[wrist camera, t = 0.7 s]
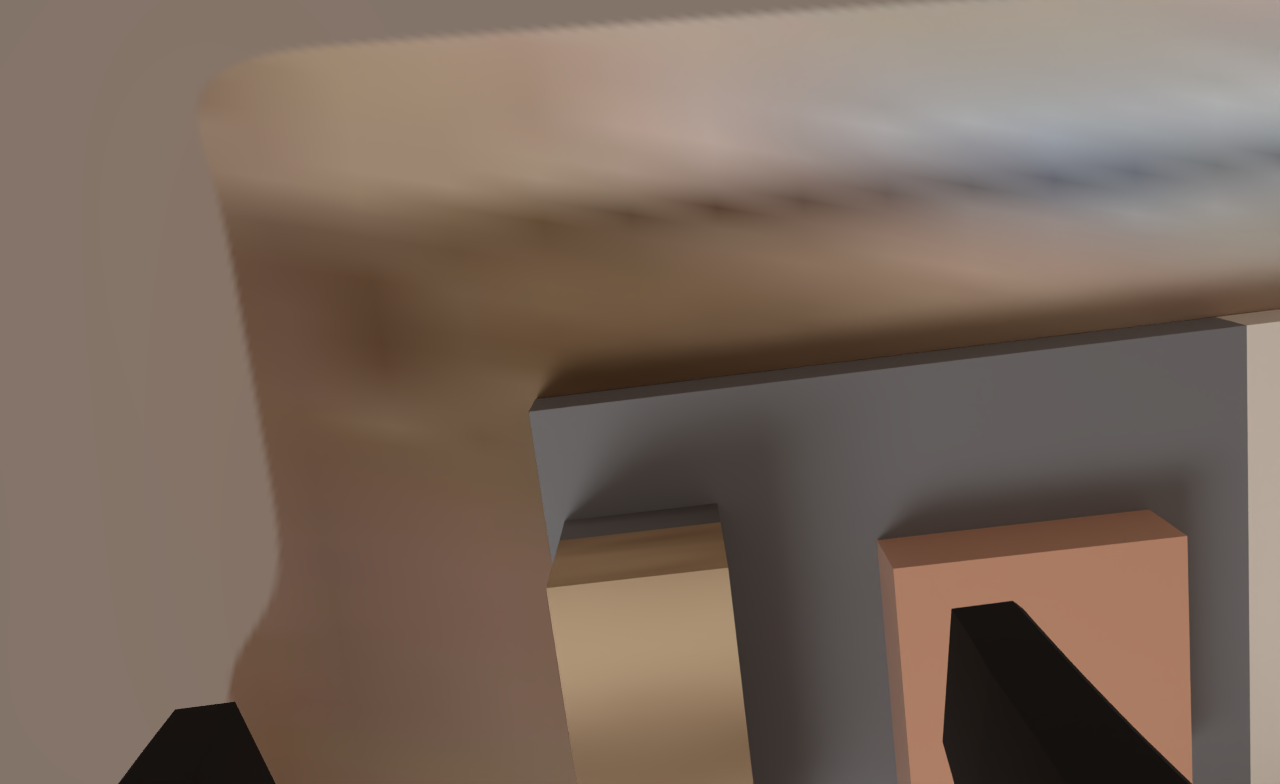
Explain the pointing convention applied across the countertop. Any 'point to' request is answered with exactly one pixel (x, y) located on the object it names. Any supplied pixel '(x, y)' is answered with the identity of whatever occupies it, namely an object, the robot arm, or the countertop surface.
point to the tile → (1044, 620)
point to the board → (952, 508)
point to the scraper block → (649, 649)
